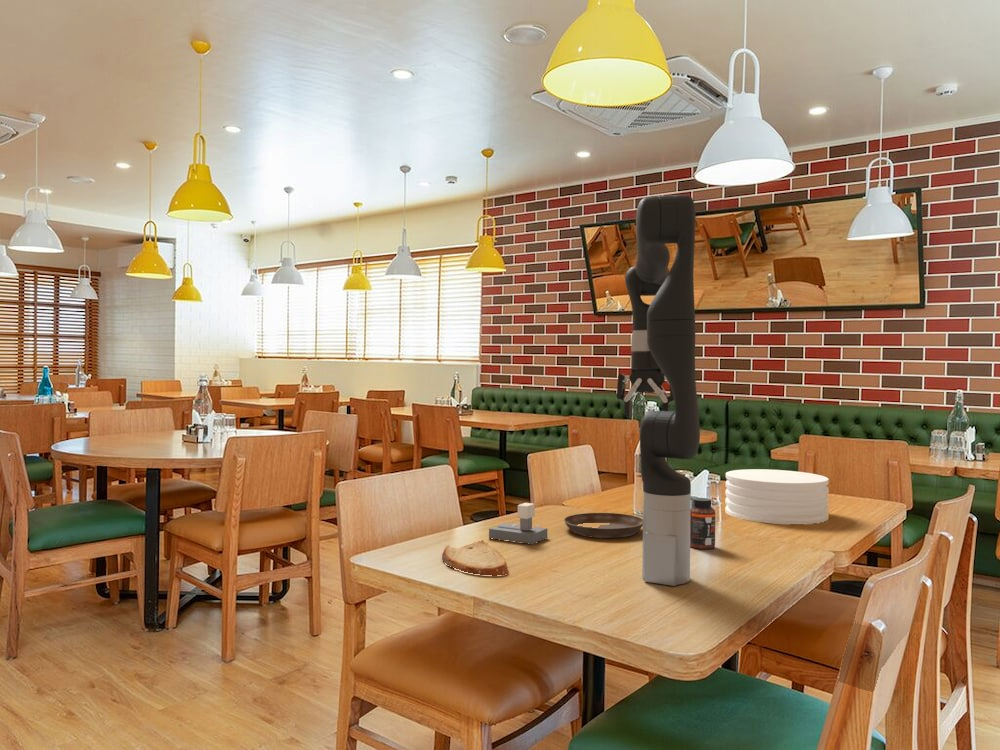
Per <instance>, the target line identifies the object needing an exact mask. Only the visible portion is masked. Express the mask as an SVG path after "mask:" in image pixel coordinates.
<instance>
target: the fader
mask: <svg viewBox="0 0 1000 750" xmlns="http://www.w3.org/2000/svg"><path fill="white" fill-rule="evenodd" d="M535 507H536V504H535V503H531V502H524V503H519V504H518V505H517V519H518V518H519V525H520V530H526V531H528V530H530V529H532V526H533V517H535V514H536V513H535V511H536V510H535Z"/></svg>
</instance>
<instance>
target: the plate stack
mask: <svg viewBox="0 0 1000 750" xmlns="http://www.w3.org/2000/svg"><path fill="white" fill-rule="evenodd" d="M725 478H726V481H725V487H726V488H725V496H726V497H725V499H724V500H725V501H724V502H725V503H724V504H725V505H726V506H725V511H724V512H725V514H727V515H729V516H732V517H734V518H737V519H741V520H745V521H751V522H757V523H764V524H775V525H790V524H804V525H814V524H813V523H817V524H821V523H820V522H822V523H825V522H824V521H826V520H827V521H829V513H828V512H829V504H828V503H829V499H830V497H829V496H828V494H829V493H830V489H829V487H828V485H829V484H830V482H829V481H830V479H829V477H827V476H824V475H822V474H815V473H813V472H812V473H811V472H805V471H798V470H796V471H795V470H785V469H783V470H782V469H766V468H765V469H763V468H762V469H760V468H757V469H756V468H755V469H753V468H752V469H747V468H746V469H745V468H744V469H733V470H730V471H727V472H725ZM827 521H826V522H827Z"/></svg>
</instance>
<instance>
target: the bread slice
mask: <svg viewBox="0 0 1000 750" xmlns="http://www.w3.org/2000/svg"><path fill="white" fill-rule="evenodd" d="M442 560H443V561H444V562H445V563H446V564H447V565H449V566H451V567H454V568H456V569H459V570H461V571H464V572H468V573H473V574H480V575H492V576H497V575H505V574H508V573H509V574H510V572H509V569H508V564H507V561H506V559H505V558H504V556H503V555H502V553H500V552H499V551H498V550H497V549H496V548H494V546H492V545H490V544H488V542H485V540H479V541H476V542H472V543H469V544H465V545H464V546H461V547H453V546H450V545H447V546H445V548H444V550H443V551H442V555H441V561H442ZM443 561H442V562H443ZM444 562H443V563H444ZM445 563H444V564H445ZM447 565H446V566H447Z"/></svg>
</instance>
